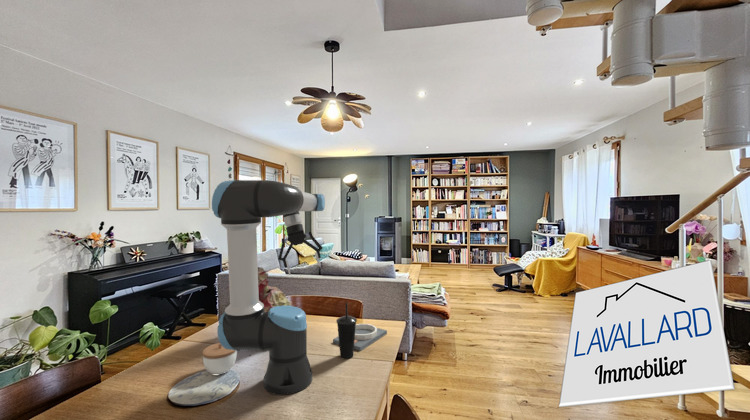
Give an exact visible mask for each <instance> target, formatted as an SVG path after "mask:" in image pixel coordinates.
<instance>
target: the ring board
mask: <svg viewBox="0 0 750 420" xmlns="http://www.w3.org/2000/svg"><path fill="white" fill-rule="evenodd" d="M387 334H388V330H387V329H382V328H380V327H379V328H378V327H376V326H375V325H374V324H369V323H356V329H355V341H354V351H355V350H356V351H360V352H361V351H363V350H365V348H368V347H369V346H370V345H372V344H373V343H375V342H377V341H379V339H382V338H383V337H384V336H386V335H387ZM332 343H333V344H336V345H339V336H336V337H334V338H332Z"/></svg>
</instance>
